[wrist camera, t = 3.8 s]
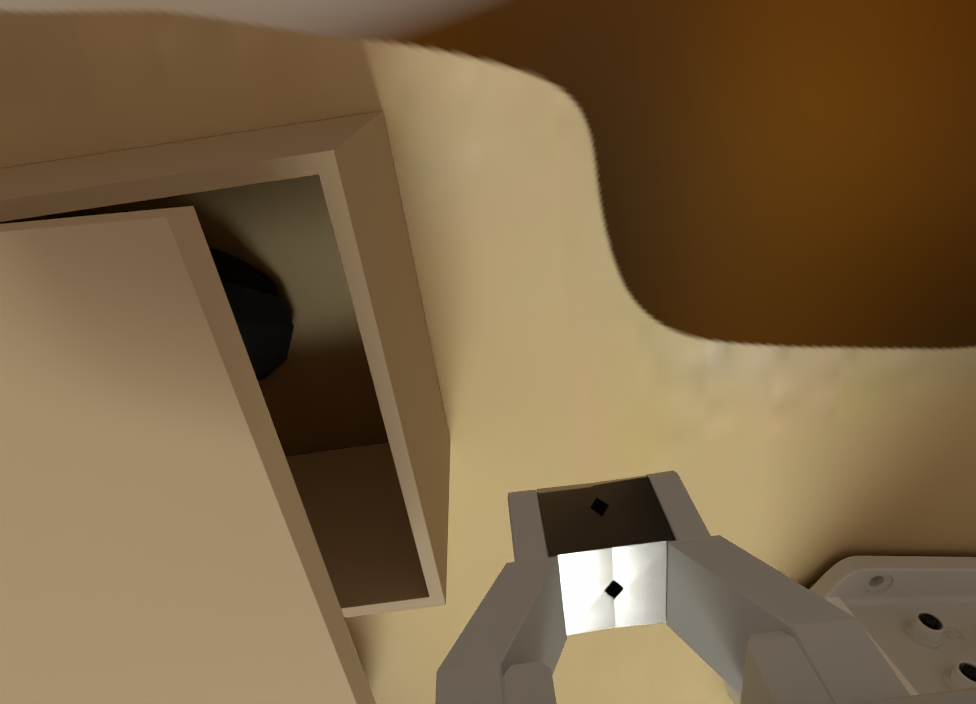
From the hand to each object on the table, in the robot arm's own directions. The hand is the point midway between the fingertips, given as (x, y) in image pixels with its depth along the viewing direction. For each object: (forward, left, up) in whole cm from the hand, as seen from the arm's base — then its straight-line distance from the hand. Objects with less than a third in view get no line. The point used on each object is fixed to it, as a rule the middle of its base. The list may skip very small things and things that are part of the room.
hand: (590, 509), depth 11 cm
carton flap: (+27, +2, -7) cm, 28 cm away
